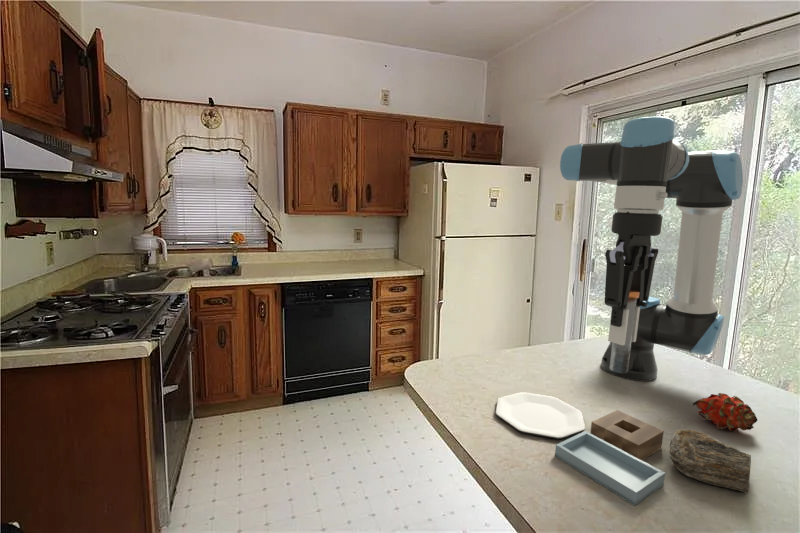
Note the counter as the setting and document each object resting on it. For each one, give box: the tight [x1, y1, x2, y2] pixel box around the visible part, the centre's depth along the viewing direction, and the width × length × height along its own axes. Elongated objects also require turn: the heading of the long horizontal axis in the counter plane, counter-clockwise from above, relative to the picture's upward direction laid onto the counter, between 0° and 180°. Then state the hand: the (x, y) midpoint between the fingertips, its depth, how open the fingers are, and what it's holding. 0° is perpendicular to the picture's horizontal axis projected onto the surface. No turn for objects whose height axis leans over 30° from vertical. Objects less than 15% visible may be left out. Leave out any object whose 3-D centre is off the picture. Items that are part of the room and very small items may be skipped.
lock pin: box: [610, 289, 640, 373], centre depth 76 cm, size 4×4×15 cm
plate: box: [495, 391, 586, 440], centre depth 99 cm, size 20×20×2 cm
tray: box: [554, 430, 666, 506], centre depth 80 cm, size 16×10×2 cm, turn 33°
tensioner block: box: [589, 410, 665, 461], centre depth 89 cm, size 10×10×4 cm
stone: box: [669, 429, 752, 494], centre depth 79 cm, size 14×10×10 cm
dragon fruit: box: [692, 392, 758, 432], centre depth 97 cm, size 8×8×12 cm
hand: (622, 340), depth 76 cm, fingers closed on lock pin, 3 cm apart
